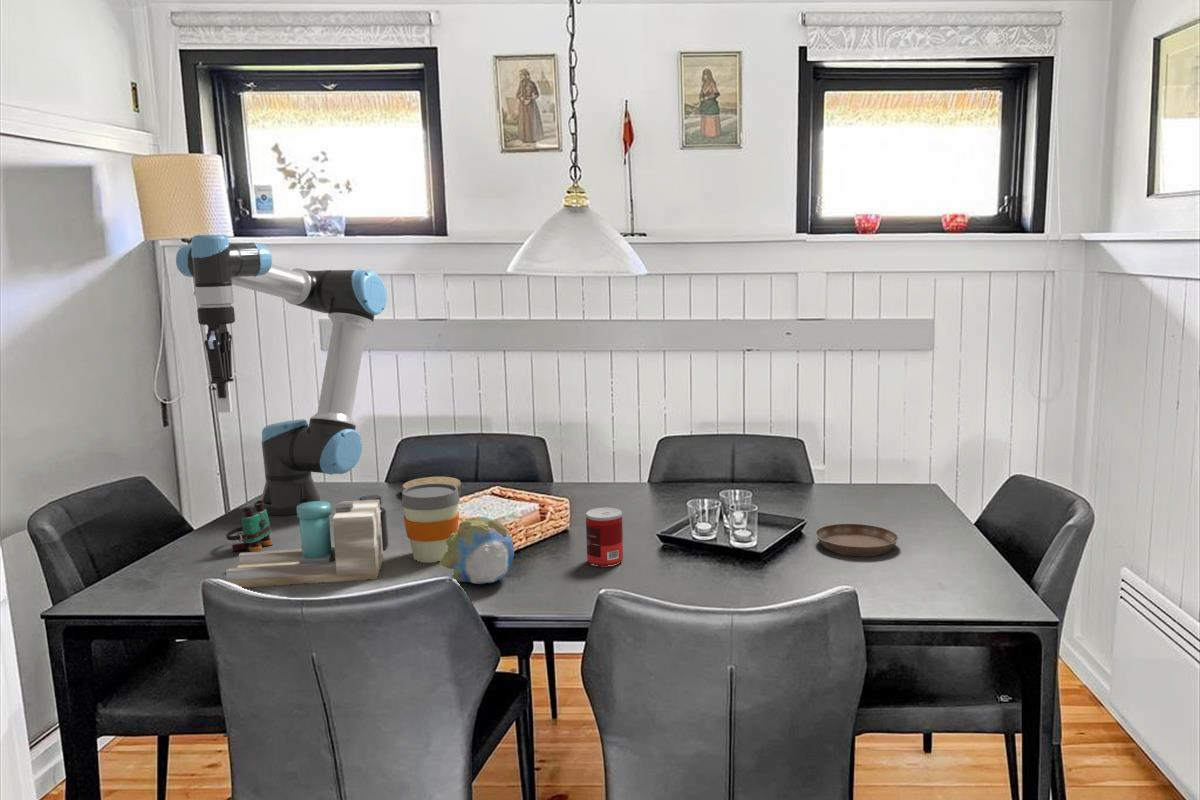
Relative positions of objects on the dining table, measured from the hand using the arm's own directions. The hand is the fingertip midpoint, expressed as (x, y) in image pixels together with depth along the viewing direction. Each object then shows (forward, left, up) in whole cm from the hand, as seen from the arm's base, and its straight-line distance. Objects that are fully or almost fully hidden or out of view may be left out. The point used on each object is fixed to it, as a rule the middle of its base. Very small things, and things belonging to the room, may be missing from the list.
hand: (225, 411), depth 213 cm
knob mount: (+18, +19, -32) cm, 42 cm away
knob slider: (+19, +21, -31) cm, 42 cm away
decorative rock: (+29, +55, -33) cm, 70 cm away
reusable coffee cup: (+12, +45, -33) cm, 57 cm away
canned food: (+23, +82, -33) cm, 91 cm away
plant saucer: (+23, +138, -33) cm, 144 cm away
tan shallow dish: (-42, +42, -33) cm, 68 cm away
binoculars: (-2, +2, -33) cm, 33 cm away
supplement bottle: (+4, +31, -33) cm, 45 cm away
